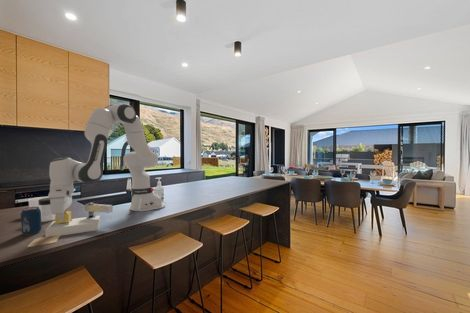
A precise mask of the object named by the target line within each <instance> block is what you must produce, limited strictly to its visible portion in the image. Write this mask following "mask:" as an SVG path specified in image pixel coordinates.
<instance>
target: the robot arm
mask: <svg viewBox="0 0 470 313" xmlns="http://www.w3.org/2000/svg"><path fill="white" fill-rule="evenodd" d="M113 124H122V125H123V128H124V132H125V138H126V141H127V145H128V146H129V147H131V148H132V150H133V151H130V152H127V153H125V154H124V156H123V158H122V161H123V163H124V165H125V166H126V167H127V168H128V170H129V172H130V175H131V190H130V191H131V194H130V195H131V204H130V207H129V210H130V211H134V212H146V211H153V210H157V209H158V210H159V209H164V208H165V207H166V204H165V203H164V202H163V201H162V198H161V196H159V194H157V193H155V192H154V191H155V188H154V187H151V183H150V182H151V181H150V180H151V176H150V175H149V174H148V173H147V172H146V170H145V168H146V169H149V168H154V167H156V166H157V165H158V163H159V157H158V154H156V152H154V151H153V150H152V149H151V148H150V146H149V144H148V142H147V139H146V137H145V136H146V135H145V132H144V127H143V123H142V121H141V119H140V117H139V116H138V115H137V113H136V110H135V108H134V107H133V106H132V105H129V104H128V103H123V104H121V103H118V104H117V103H116V104H113V105H107V106H105V107H97V108H94V110H93V111H92V112H91V114H90V116H89V118H88V120H87V123H86V125H85V128H84V137H85V138H86V140H88V141H89V142H90V144H91V145H90V146H91V148H90V151H89V152H90V153H89V157H88V160H87V161H86V162H80V161H77V160H75V159H72V158H71V157H69V156H67V157H65V156H64V157H58V158H54V159H52V160H51V161H50V164H49V170H48V171H49V178H50V183H49V192H48V197H47V198H51V199H50V204H51V211H52V214H53V215H56V214H58V217H59V221H62V220H64V211H69V207H70V206H72V203H73V196H72V194H74V191H75V190H74V189H75V188H74V182H82V183H85V184H88V185H93V184H96V183H98V182H99V181H100V180H101V179H102V177H103V175H104V174H103V173H104V169H103V164H104V163H103V162H104V158H105V155H106V151H107V150H106V149H107V146H108V137H109V133H110V130H111V127H112V125H113Z"/></svg>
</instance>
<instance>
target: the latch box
mask: <svg viewBox="0 0 470 313" xmlns="http://www.w3.org/2000/svg"><path fill="white" fill-rule="evenodd" d="M100 225H101V215H94V217H89V216H86V217H85V216H84V217H83V216H82V217H78V218H77V217H75V218H71V220H70V221H69V222H65V223H58V224H56V221H55V220H53V221H52V222H51V223H50V224H49V225H48V226H46V228H45V229H44V232H45V236H44V237H50V236H56V235H61V236H68V235H74V234H80V233H87V232H88V233H89V232H95V231H98V230H99V228H100ZM61 236H60V237H61Z"/></svg>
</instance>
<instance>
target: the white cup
mask: <svg viewBox="0 0 470 313" xmlns="http://www.w3.org/2000/svg"><path fill="white" fill-rule="evenodd" d="M43 198H47V197H45V196H40V197H33V198H32V197H31V198H28V208H29V207H38V204H39V201H38V200H40V199H43Z"/></svg>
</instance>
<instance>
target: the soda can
mask: <svg viewBox="0 0 470 313" xmlns="http://www.w3.org/2000/svg"><path fill="white" fill-rule="evenodd" d="M20 226H21V227H20V228H21V229H20V230H21V231H20V232H21V234H22V235H24V236H30V235H35V234H38V233H39V232H40V231H41V230H42V222H41V210H40V209H39V207H29V206H28V207H25V208H23V209H22V210H21V212H20Z"/></svg>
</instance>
